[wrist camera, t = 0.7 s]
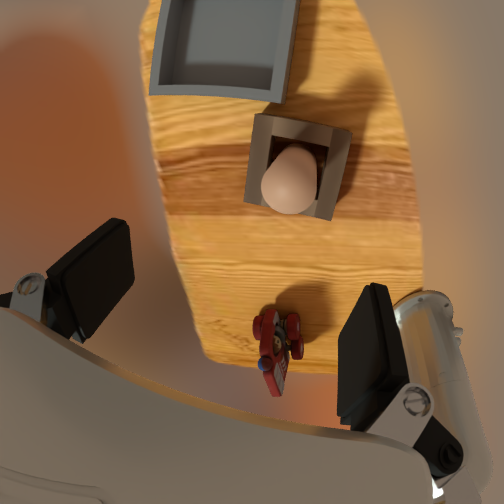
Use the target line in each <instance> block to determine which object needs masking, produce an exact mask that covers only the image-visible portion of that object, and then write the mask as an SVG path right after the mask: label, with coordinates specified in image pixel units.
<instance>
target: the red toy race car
mask: <svg viewBox="0 0 504 504" xmlns="http://www.w3.org/2000/svg"><path fill="white" fill-rule="evenodd" d="M253 335H254V337H255V339H256V340H260V346H259V352H260V356H261V358H260V359H259V361H258V367H259V369H260V370H262V371H263V375H264V378H265V381H266V383H267V385H268V388H269V390H270V392H271V395H272V396H273V397H280V396H282V394H283V390H284V381H285V377H286V373H287V368H288V364H289V359H290V356H289V352H288V351H291V356H292V358H293V359H294V360H301V359H302V358H303V353H304V344H303V338H302V336H300V319H299V315H298V314H289V315H288V316H287V319H282V320H281V321H280V319H279V315H278V312H277V310H276V309H267V310H266V312H265V315H260V316H256V317H255V318H254V320H253ZM286 335H287V336H288V339H289V340H291V345H288V344H287V342H286V340H285V337H286Z"/></svg>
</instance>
